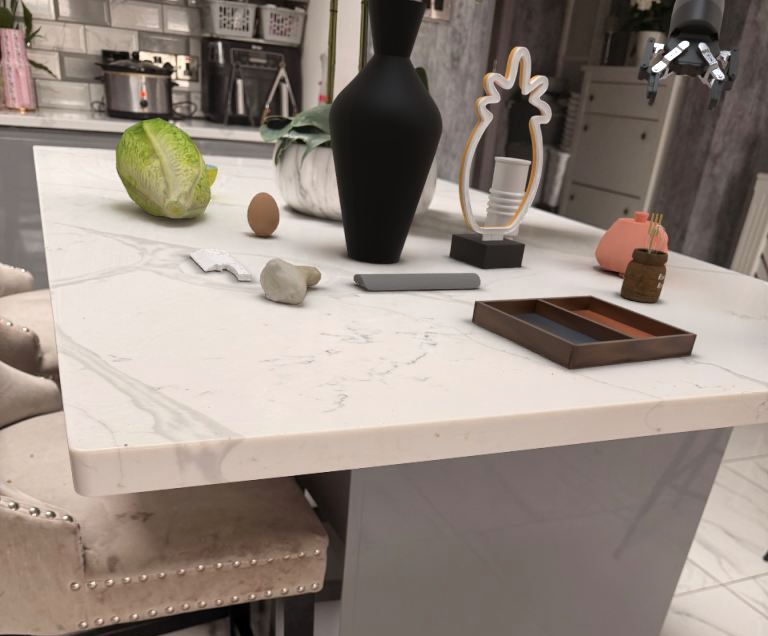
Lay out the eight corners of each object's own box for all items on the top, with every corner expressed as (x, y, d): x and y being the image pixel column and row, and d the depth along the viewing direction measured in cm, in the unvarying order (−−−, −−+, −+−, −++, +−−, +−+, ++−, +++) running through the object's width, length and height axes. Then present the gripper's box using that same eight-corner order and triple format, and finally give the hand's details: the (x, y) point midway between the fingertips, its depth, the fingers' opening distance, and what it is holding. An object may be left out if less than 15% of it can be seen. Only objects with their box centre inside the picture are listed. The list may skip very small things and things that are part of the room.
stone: (303, 308, 93) (305, 267, 90) (253, 302, 93) (253, 261, 91) (321, 287, 103) (322, 250, 100) (275, 282, 103) (276, 245, 101)
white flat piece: (213, 281, 100) (213, 272, 99) (189, 255, 111) (189, 248, 111) (251, 280, 102) (251, 272, 101) (223, 255, 113) (223, 248, 113)
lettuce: (223, 250, 134) (129, 255, 130) (203, 184, 150) (118, 187, 145) (219, 166, 123) (116, 168, 119) (198, 104, 139) (106, 104, 134)
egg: (241, 235, 128) (241, 191, 125) (255, 231, 133) (256, 188, 130) (270, 240, 127) (271, 196, 124) (284, 236, 132) (285, 193, 128)
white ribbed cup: (516, 248, 146) (531, 163, 138) (480, 243, 146) (493, 158, 139) (517, 242, 151) (532, 160, 144) (482, 238, 152) (495, 155, 145)
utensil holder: (621, 299, 116) (642, 216, 110) (617, 290, 121) (637, 210, 115) (660, 305, 115) (684, 221, 109) (655, 296, 120) (677, 216, 115)
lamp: (503, 254, 138) (538, 52, 123) (537, 266, 132) (579, 54, 117) (431, 257, 129) (459, 39, 114) (464, 269, 123) (498, 40, 108)
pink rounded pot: (632, 265, 142) (646, 207, 137) (683, 284, 131) (702, 222, 126) (578, 264, 138) (591, 204, 133) (627, 284, 127) (644, 219, 122)
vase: (386, 245, 134) (410, 9, 117) (446, 268, 122) (482, 9, 105) (301, 247, 125) (313, -9, 108) (357, 272, 113) (381, -11, 96)
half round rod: (350, 283, 106) (351, 270, 106) (466, 282, 115) (468, 269, 114) (363, 291, 103) (365, 278, 102) (482, 289, 112) (484, 276, 111)
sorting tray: (586, 314, 105) (591, 295, 104) (690, 355, 92) (697, 334, 91) (471, 321, 96) (474, 300, 94) (570, 369, 83) (575, 345, 81)
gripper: (655, -8, 116) (639, 76, 112) (752, 2, 114) (739, 88, 110) (644, 35, 124) (628, 115, 119) (735, 45, 121) (722, 127, 117)
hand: (681, 102), depth 115 cm, fingers open, 8 cm apart
